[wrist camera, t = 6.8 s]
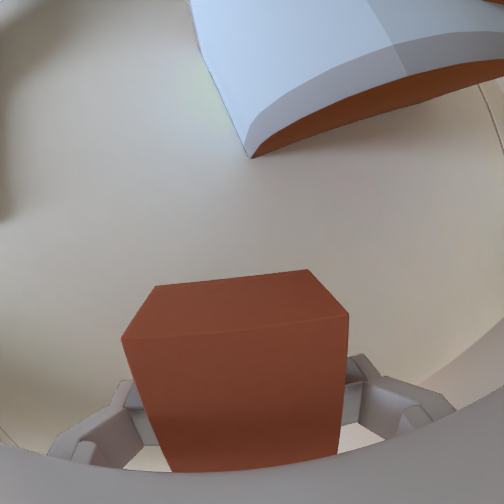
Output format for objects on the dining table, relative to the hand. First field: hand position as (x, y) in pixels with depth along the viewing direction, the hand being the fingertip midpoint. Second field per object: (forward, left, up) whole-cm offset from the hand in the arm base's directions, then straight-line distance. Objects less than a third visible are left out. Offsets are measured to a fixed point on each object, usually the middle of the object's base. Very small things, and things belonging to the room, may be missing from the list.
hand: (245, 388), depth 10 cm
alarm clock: (+14, -7, -10) cm, 19 cm away
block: (0, 0, -2) cm, 2 cm away
